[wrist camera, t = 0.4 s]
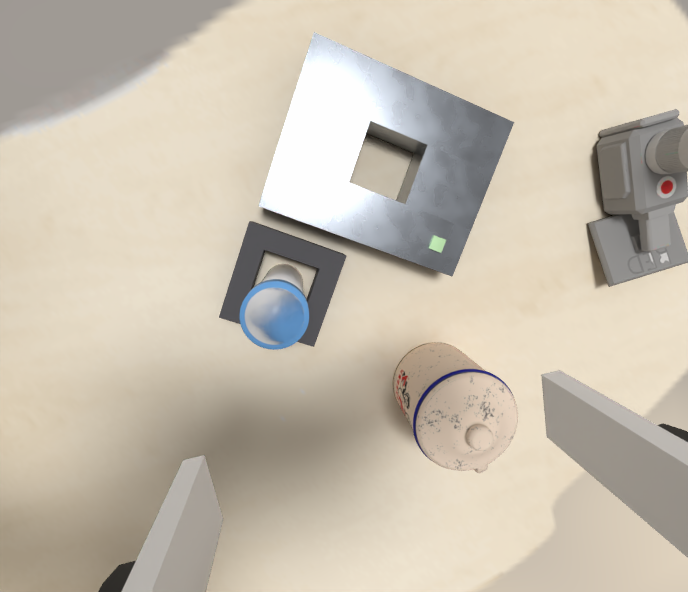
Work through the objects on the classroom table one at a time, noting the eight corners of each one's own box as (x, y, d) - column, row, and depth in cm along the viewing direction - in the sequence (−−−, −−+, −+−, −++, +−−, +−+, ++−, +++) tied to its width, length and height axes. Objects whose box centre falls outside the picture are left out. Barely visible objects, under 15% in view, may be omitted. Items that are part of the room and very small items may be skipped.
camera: (806, 72, 27) (806, 276, 30) (654, 115, 38) (666, 260, 42) (692, 104, 26) (705, 308, 30) (573, 138, 38) (592, 283, 41)
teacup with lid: (376, 362, 40) (407, 418, 29) (455, 324, 40) (517, 365, 29) (419, 455, 43) (463, 540, 31) (493, 419, 43) (564, 490, 31)
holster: (224, 311, 37) (218, 317, 35) (252, 221, 36) (249, 221, 34) (312, 339, 39) (313, 346, 36) (343, 253, 37) (346, 255, 35)
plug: (256, 295, 37) (230, 337, 24) (269, 254, 37) (251, 273, 23) (297, 309, 38) (296, 357, 24) (311, 268, 37) (318, 295, 24)
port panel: (263, 207, 36) (258, 205, 32) (312, 54, 34) (314, 30, 30) (436, 271, 39) (453, 276, 35) (491, 132, 37) (516, 121, 33)
